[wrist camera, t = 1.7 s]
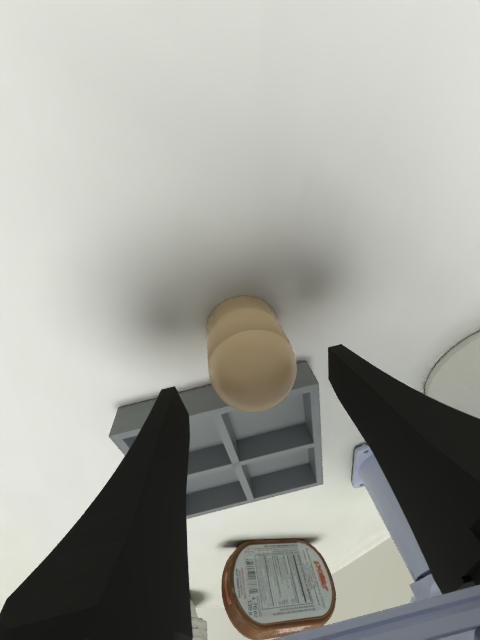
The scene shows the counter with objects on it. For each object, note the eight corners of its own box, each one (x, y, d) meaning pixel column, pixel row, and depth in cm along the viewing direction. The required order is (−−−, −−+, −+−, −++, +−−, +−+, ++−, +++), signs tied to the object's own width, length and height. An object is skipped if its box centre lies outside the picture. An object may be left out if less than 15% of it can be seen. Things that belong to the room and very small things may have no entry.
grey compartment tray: (306, 360, 18) (318, 383, 16) (314, 460, 25) (323, 484, 23) (118, 408, 18) (108, 436, 16) (181, 494, 25) (180, 520, 23)
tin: (218, 547, 34) (223, 648, 27) (225, 537, 33) (232, 641, 25) (312, 543, 38) (337, 629, 31) (322, 534, 37) (351, 623, 30)
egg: (271, 287, 14) (308, 349, 10) (280, 345, 17) (312, 419, 12) (197, 306, 14) (196, 377, 10) (216, 361, 17) (223, 441, 12)
